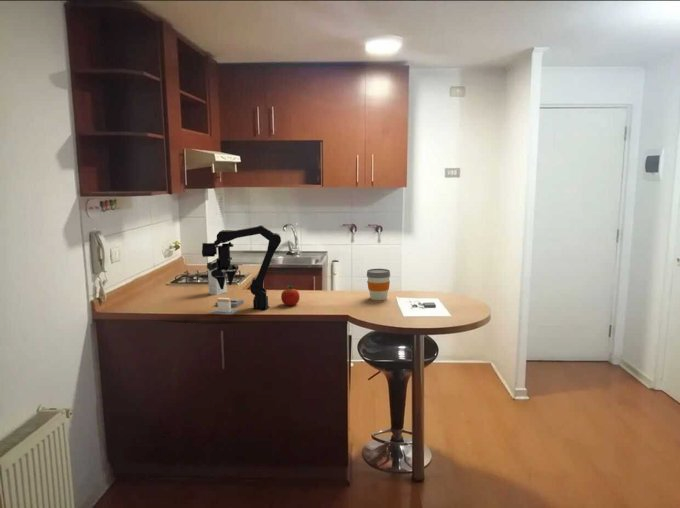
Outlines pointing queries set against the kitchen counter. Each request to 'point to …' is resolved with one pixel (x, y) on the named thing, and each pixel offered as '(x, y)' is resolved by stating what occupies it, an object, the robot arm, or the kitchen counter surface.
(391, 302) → the kitchen counter surface
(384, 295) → the reusable coffee cup
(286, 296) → the fruit
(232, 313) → the mat
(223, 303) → the tan banded white slab
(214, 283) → the skincare box
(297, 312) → the kitchen counter surface
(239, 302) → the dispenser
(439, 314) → the kitchen counter surface
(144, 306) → the kitchen counter surface
